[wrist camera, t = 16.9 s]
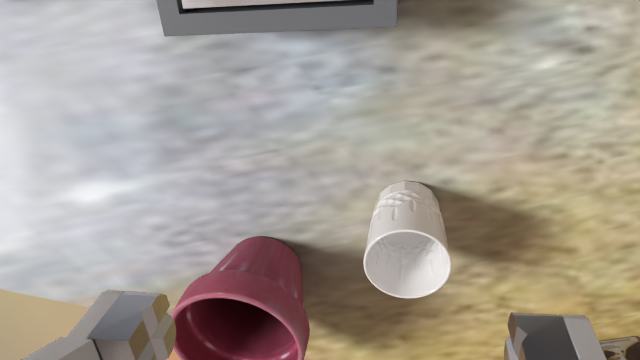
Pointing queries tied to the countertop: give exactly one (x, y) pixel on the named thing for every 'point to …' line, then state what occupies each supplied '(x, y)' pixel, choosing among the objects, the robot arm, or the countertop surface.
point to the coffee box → (621, 349)
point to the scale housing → (276, 17)
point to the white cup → (407, 242)
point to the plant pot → (245, 307)
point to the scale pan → (237, 2)
